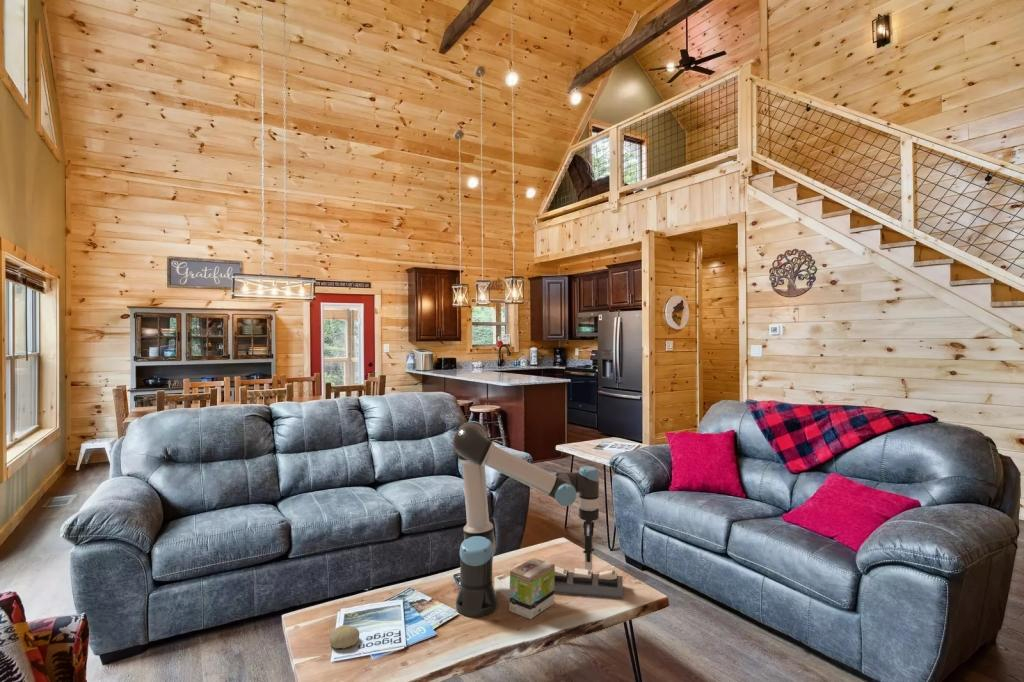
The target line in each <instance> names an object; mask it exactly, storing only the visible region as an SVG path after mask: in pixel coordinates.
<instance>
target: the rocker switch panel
mask: <svg viewBox="0 0 1024 682" xmlns="http://www.w3.org/2000/svg"><path fill="white" fill-rule="evenodd" d="M566 570H567V575H566V576H555V583H554V585H555V590H554V594H561V595H562V594H563V595H573V596H586V597H595V598H596V597H598V598H610V599H619V598H622V599H623V598H624V592H623V591H624V585H623V576H622V575H618V573H617V579H613V580H605V579H599V573H598V574H596V573H593V571H592V575H591V578H580V577H574V571H573V572H571V571H569V569H566Z"/></svg>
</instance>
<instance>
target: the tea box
mask: <svg viewBox="0 0 1024 682" xmlns="http://www.w3.org/2000/svg"><path fill="white" fill-rule="evenodd" d="M555 566H556V565H555V564H554V563H552V562H549V561H545V560H541V559H538V558H535V557H532V558H531V559H529V560H527V561H525V562H524V563H522V564H520V565H519V566H517V567H515V568H513V569H511V570H509V606H508V607H509V608H508V609H509V612H511V613H513V614H517V615H519V616H521V617H524V618H527V619H529V620H532V619H533V618H534V617H536V616H537V615H539V614H540V613H541V612H543V611H545V610H546V609H547V608H549V607H550V606H552V605H554V604H555V593H554V590H555V585H554V583H555Z"/></svg>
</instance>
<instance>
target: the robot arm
mask: <svg viewBox="0 0 1024 682" xmlns="http://www.w3.org/2000/svg"><path fill="white" fill-rule="evenodd" d="M488 437H489V435H488V431H487V429H486V427H485V425H483V424H482V423H481V422H478V421H475V420H470V421H467V422H464V423H463V424H461V425H460V426H459V427H458V430H457V431H456V433H455V434H454V437H453V442H452V444H453V448H454V450H455V452H456V453H457V459H458V461H460V462H461V463H462V477H463V488H464V489H463V490H464V503H465V513H466V514H465V515H466V516H465V517H466V524H465V525H464V526H463V539H464V540H463V541H462V542H461V543H460V548H459V561H460V562H459V565H460V566H459V568H460V571H459V572H460V574H459V575H460V578H459V579H460V586H459V590H458V591H457V592H458V593H457V596H456V599H455V610H456V611H457V612H458V614H461V615H463V616H466V617H472V618H473V617H477V618H478V617H484V616H488V615H491V614H493V613H494V612H495V611H496V610H497V609H498V603H499V602H498V597H497V593H496V591H495V587H494V585H493V584H494V583H493V582H494V581H493V562H494V555H495V550H496V546H497V541H496V536H495V533H494V531H495V530H494V524H493V523H492V522H490V516H489V505H488V491H487V480H486V479H487V476H486V475H487V474H486V466H487V467H489V468H491V469H492V470H495V471H497V472H500V473H501V474H504V475H505V476H507V477H510V478H511V479H514V480H515V481H518V482H520V483H522V484H524V485H526V486H528V487H530V488H533V489H535V490H536V491H538V492H540V493H542V494H544V495H547V496H548V497H551V498H552V499H554V500H555V501H556V502H557V504H559V505H560V506H561V507H562V506H563V507H568V506H571V505H573V504H574V503H575V501H576V499H577V494H579V495H578V507H579V508H578V517H579V519H581V520H582V521H583V526H582V527H583V528H582V529H583V535H584V550H583V551H582V552H583V554H584V569H585V570H592V571H593V552H595V548H593V547H594V546H593V545H594V544H593V536H594V528H595V521H598V519H599V517H600V512H599V511H600V509H599V504H600V503H601V500H600V477H599V476H600V475H599V474H600V473H599V469H598V468H597V467H595V466H590V465H589V466H588V465H587V466H581V467H580V468H579V470H578V472H559V471H554V472H549V471H547V470H545V469H542V468H541V467H539V466H537V465H535V464H533V463H531V462H529V461H527V460H525V459H523V458H520V457H518V456H516V455H514V454H512V453H511V452H508V451H506V450H504V449H502V448H500V447H497V446H496V445H495V443H494V441H492V440H490V439H488Z"/></svg>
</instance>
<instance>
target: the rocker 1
mask: <svg viewBox="0 0 1024 682" xmlns="http://www.w3.org/2000/svg"><path fill="white" fill-rule="evenodd" d="M567 570H568V569H565V568H562V567H560V566H557V565H555V576H566V575H567Z"/></svg>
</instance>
